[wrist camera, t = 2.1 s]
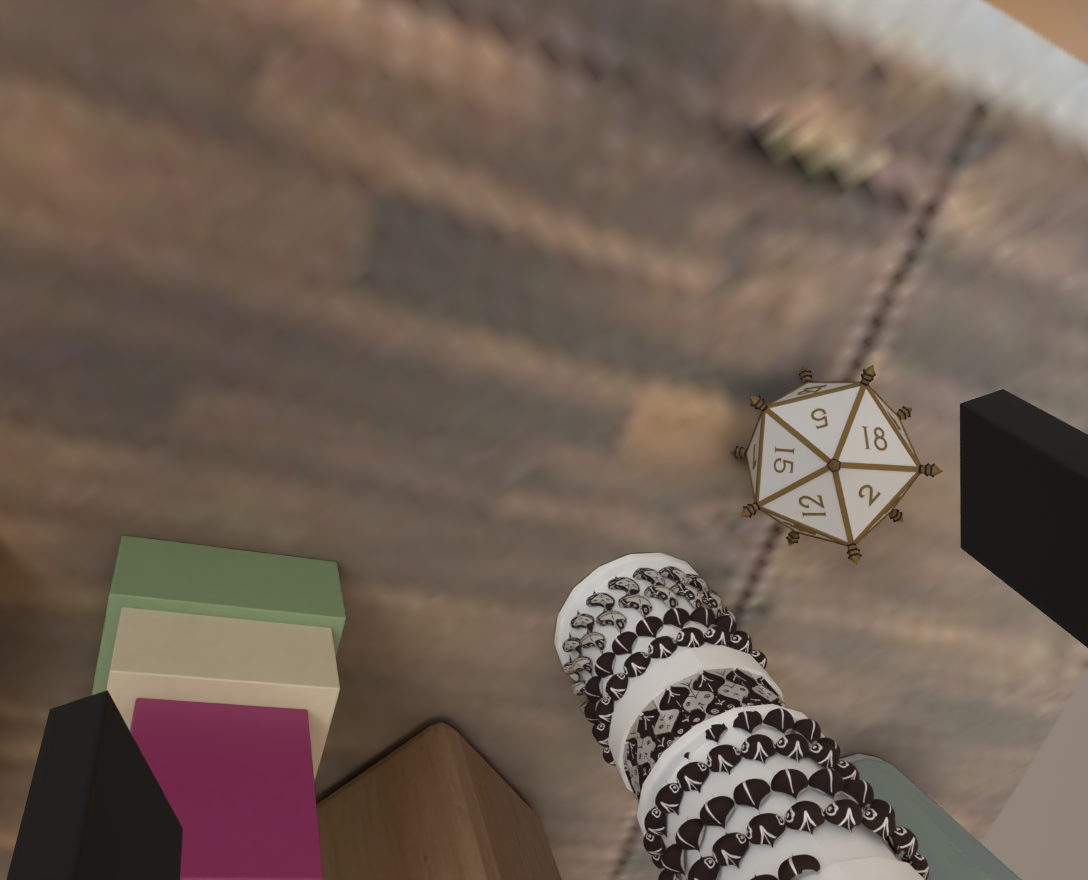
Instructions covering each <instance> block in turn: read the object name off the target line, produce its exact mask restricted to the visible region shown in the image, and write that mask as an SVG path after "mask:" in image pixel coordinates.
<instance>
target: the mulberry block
mask: <svg viewBox="0 0 1088 880" xmlns="http://www.w3.org/2000/svg"><path fill="white" fill-rule="evenodd" d="M130 732H131V734H132V736H133V738H134V739H135V741H136V743H137V745H138V747H139V749H140V750H141V752H142V754H143V756H144V758H145V760H146V761H147V763H148V765H149V767H150V769H151V771H152V772H153V774H154V776H155V778H156V780H157V782H158V783H159V785H160V787H161V789H162V791H163V793H164V794H165V796H166V798H167V800H168V802H169V804H170V805H171V807H172V809H173V811H174V813H175V815H176V816H177V818H178V820H179V822H180V824H181V826H182V828H183V839H182V855H181V871H180V880H324V878H323V867H322V857H321V846H320V836H319V825H318V815H317V804H316V794H315V783H314V773H313V762H312V752H311V741H310V731H309V720H308V711H307V710H306V709H292V708H277V707H263V706H249V705H234V704H220V703H205V702H191V701H176V700H162V699H147V698H137V699H136V701H135V706H134V711H133V716H132V721H131V726H130Z"/></svg>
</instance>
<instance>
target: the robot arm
mask: <svg viewBox="0 0 1088 880" xmlns="http://www.w3.org/2000/svg"><path fill="white" fill-rule="evenodd" d="M960 488H961V548H962V549H963V550H964V551H966V552H967V553H968V554H969V555H971V556H972V557H973V558H974V559H976V560H977V561H978V562H980V563H981V564H982V565H983V566H985V567H986V568H987V569H988V570H990V571H991V572H992V573H993V574H995V575H996V576H997V577H999V578H1000V579H1001V580H1002V581H1004V582H1005V583H1006V584H1007V585H1009V586H1010V587H1011V588H1013V589H1014V590H1015V591H1016V592H1018V593H1019V594H1020V595H1021V596H1023V597H1024V598H1025V599H1026V600H1028V601H1029V602H1030V603H1032V604H1033V605H1034V606H1035V607H1037V608H1038V609H1039V610H1040V611H1042V612H1043V613H1044V614H1046V615H1047V616H1048V617H1049V618H1051V619H1052V620H1053V621H1054V622H1056V623H1057V624H1058V625H1059V626H1061V627H1062V628H1063V629H1065V630H1066V631H1067V632H1068V633H1070V634H1071V635H1072V636H1073V637H1075V638H1076V639H1077V640H1079V641H1080V642H1081V643H1082V644H1084V645H1085V646H1086V647H1087V648H1088V435H1087V434H1085V433H1084V432H1082V431H1080V430H1078V429H1076V428H1074V427H1072V426H1070V425H1069V424H1067V423H1065V422H1063V421H1061V420H1059V419H1057V418H1056V417H1054V416H1052V415H1050V414H1048V413H1046V412H1044V411H1043V410H1041V409H1039V408H1037V407H1035V406H1033V405H1031V404H1030V403H1028V402H1026V401H1024V400H1022V399H1020V398H1018V397H1017V396H1015V395H1013V394H1011V393H1009V392H1007V391H1005V390H1004V389H1002V390H999V391H996V392H994V393H991V394H988V395H985V396H982V397H979V398H976V399H973V400H970V401H967V402H964V403H961V404H960ZM182 839H183V828H182V826H181V824H180V822H179V820H178V818H177V816H176V815H175V813H174V811H173V809H172V807H171V805H170V804H169V802H168V800H167V798H166V796H165V794H164V793H163V791H162V789H161V787H160V785H159V783H158V782H157V780H156V778H155V776H154V774H153V772H152V771H151V769H150V767H149V765H148V763H147V761H146V760H145V758H144V756H143V754H142V752H141V750H140V749H139V747H138V745H137V743H136V741H135V739H134V738H133V736H132V734H131V732H130V730H129V728H128V726H127V725H126V723H125V721H124V719H123V717H122V715H121V714H120V712H119V710H118V708H117V706H116V704H115V703H114V701H113V699H112V697H111V695H110V693H109V692H108V690H106V691H103V692H100V693H97V694H95V695H92V696H89V697H86V698H83V699H80V700H77V701H74V702H71V703H68V704H65V705H62V706H59V707H56V708H53V709H50V711H49V715H48V719H47V723H46V727H45V731H44V735H43V739H42V743H41V747H40V751H39V755H38V758H37V762H36V766H35V770H34V774H33V778H32V782H31V786H30V790H29V794H28V798H27V802H26V806H25V810H24V813H23V817H22V821H21V825H20V829H19V833H18V837H17V841H16V845H15V849H14V853H13V857H12V861H11V865H10V868H9V872H8V876H7V880H180V871H181V855H182Z"/></svg>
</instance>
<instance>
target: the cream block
mask: <svg viewBox="0 0 1088 880" xmlns="http://www.w3.org/2000/svg"><path fill="white" fill-rule="evenodd" d="M106 690H108V692H109V693H110V695H111V697H112V699H113V701H114V703H115V704H116V706H117V708H118V710H119V712H120V714H121V715H122V717H123V719H124V721H125V723H126V725H127V726H128V728H129V730H130V726H131V721H132V716H133V711H134V706H135V701H136V699H137V698H147V699H162V700H176V701H191V702H205V703H220V704H234V705H249V706H263V707H277V708H292V709H306V710H307V711H308V720H309V731H310V741H311V752H312V762H313V773H314V782H315V778H316V774H317V771H318V767H319V764H320V760H321V756H322V753H323V749H324V746H325V742H326V738H327V735H328V731H329V728H330V724H331V721H332V717H333V713H334V710H335V706H336V703H337V699H338V695H339V692H340V684H339V677H338V670H337V663H336V656H335V649H334V642H333V635H332V629H331V628H327V627H317V626H307V625H297V624H287V623H277V622H267V621H257V620H247V619H237V618H227V617H217V616H207V615H197V614H187V613H177V612H167V611H157V610H147V609H137V608H127V607H122V608H121V613H120V618H119V624H118V629H117V634H116V640H115V645H114V651H113V656H112V661H111V667H110V672H109V678H108V683H107V689H106Z"/></svg>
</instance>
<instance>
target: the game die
mask: <svg viewBox="0 0 1088 880" xmlns="http://www.w3.org/2000/svg"><path fill="white" fill-rule="evenodd" d="M810 373H811V371H809V370H807V369H806V368H804V367H803V368H802V370H801V372H800V374H799V375H800V376H801V378H800V379H801V380H802V381H803V382H804V384H802V385H801V386H799V387H797V388H795V389H794V390H792V391H790V392H788V393H787V394H785V395H783V396H781V397H780V398H778V399H776V400H774V401H773V402H771V403H769V404H765V403H764V399H761V398H760V395H759V396H750V400H751V406H754V407H755V409H760V410H761V414H760V417H759V419H758V422H757V424H756V427H755V430H754V432H753V435H752V437H751V440H750V443H749V445H748V448H747V449H744V448H743V447H741V448H739V447H738V446H736V448H735V449H733V450H732V451H730V452H731V453H732V454H733V455H734V456H735V457H736V458H738V457H740V458H742V457H746V458H747V463H748V469H749V474H750V480H751V486H752V491H753V497H754V503H753V504H747V505H748V506H746V507H745V506H743V511H742V514H741V516H743V517H750V518H751V516H752V515H753V514H754V515H755V513H756V511H757V510H761V511H762V512H764V513H766V514H767V515H769V516H770V517H772V518H773V519H775V520H777V521H778V522H780V523H781V524H783V525H785V526H786V527H788V528H789V529H791V530H792V531H791V532H790V533H789V534H788V535H789V536H788V537H786V538H787V539H788V543H789V546H790V545H792V544H794V543H798V539H799V533H800V534H803V535H807V536H811V537H815V538H818V539H822V540H826V541H830V542H834V543H837V544H841V545H845V546H848V552H847V554H849V557H848V559H851V560H852V561H853V562H854V563H855V564H856V565H857V564H858V562H859V559H860V557H861V556H862V555H861V554H860V553H859V551H860V550H859V549H858V548H857V547H856V544H857V543H858V542H859V541H860V540H861V539H862V538H863V537H864V536H866V535H867V534H868V533H869V532H870V531H871V530H872V529H873V528H874V527H875V526H877V525H878V524H879V523H880V522H881V521H882V520H883V519H884V518H885V517H886V516H887V515H889V517H890V519H893V522H896V521H903V518H902V514H903V513H902V512H899V510H897V509H894V508H895V506H896V505H897V504H898V502H899V501H900V500H901V498H902V497H903V496H904V494H905V493H906V492H907V490H908V489H909V488H910V486H911V485H912V484H913V483H914V481H915V480H916V479H917V477H918V476H919V475H920V473H923V474H925V475H926V476H928V475H930V476H932V477H934V476H935V475H937V474H939V473H941V472H943V471H942V470H940V469H939V468H938V467H937V466H935V464H933V465H929V463H928V464H927V465H921V464H920V462H919V460H918V457H917V455H916V453H915V451H914V449H913V446H912V444H911V442H910V440H909V437H908V435H907V433H906V431H905V429H904V426H903V424H902V422H901V419H906V418H907V417H911V416H910V413H911V410H912V408H907V407H904V406H903V407H902V409H899V410H898V412H897V414H896V413H895V412H894V411H893V410H892V409H891V408H890V407H889V406H888V405H887V403H886V402H885V401H884V400H883V399H882V398H881V397H880V396H879V395H878V394H877V393H876V392H875V391H874V390H873V389H872V388H871V387H870V386H869V382H871V381H872V380H873V377H874V376H875V375H876V374H875V371H874V367H873V365H872V366H870V367H869V368H867V369H863V374H861V377H862V380H861V381H860V382H811V378H812V375H811V374H810Z"/></svg>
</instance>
